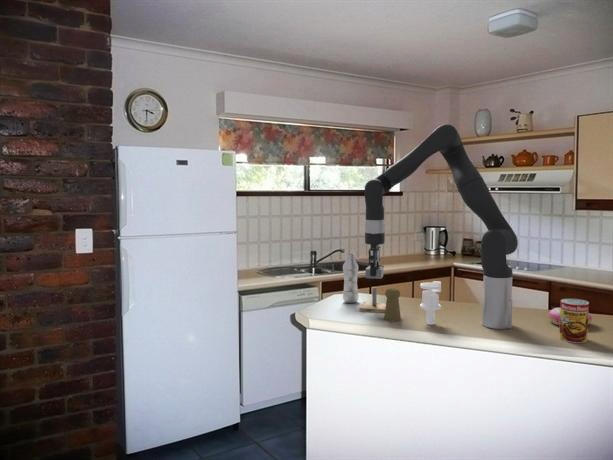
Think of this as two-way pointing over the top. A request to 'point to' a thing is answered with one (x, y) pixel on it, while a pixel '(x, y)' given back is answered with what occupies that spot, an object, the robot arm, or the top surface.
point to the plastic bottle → (350, 279)
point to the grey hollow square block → (378, 273)
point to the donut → (555, 316)
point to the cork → (392, 305)
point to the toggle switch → (373, 304)
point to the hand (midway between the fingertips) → (374, 274)
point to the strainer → (430, 300)
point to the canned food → (574, 320)
